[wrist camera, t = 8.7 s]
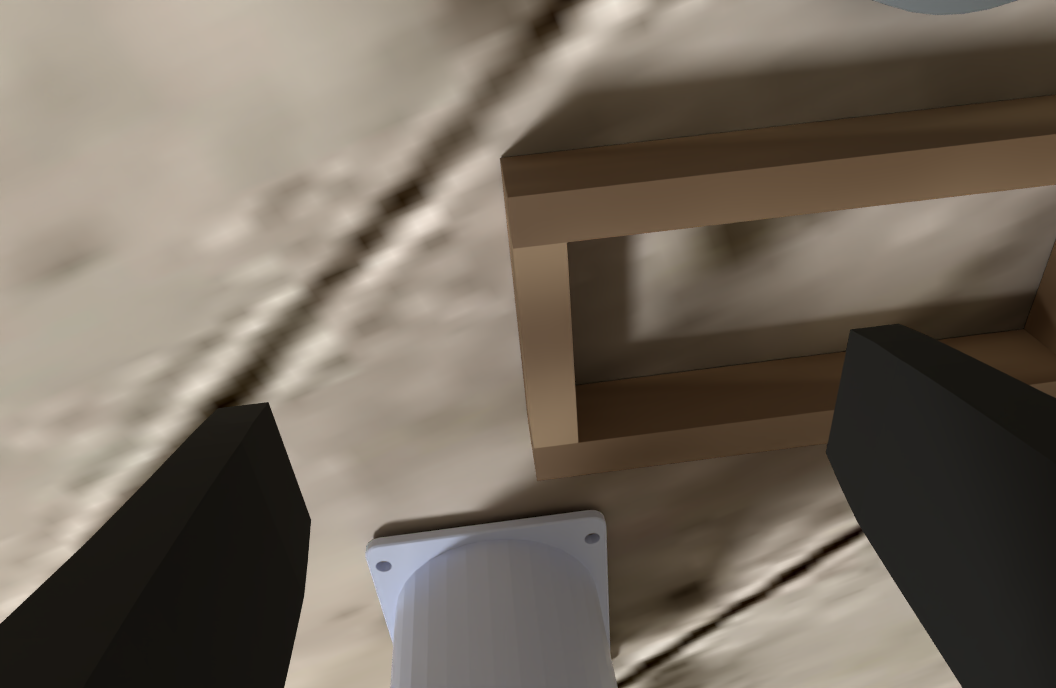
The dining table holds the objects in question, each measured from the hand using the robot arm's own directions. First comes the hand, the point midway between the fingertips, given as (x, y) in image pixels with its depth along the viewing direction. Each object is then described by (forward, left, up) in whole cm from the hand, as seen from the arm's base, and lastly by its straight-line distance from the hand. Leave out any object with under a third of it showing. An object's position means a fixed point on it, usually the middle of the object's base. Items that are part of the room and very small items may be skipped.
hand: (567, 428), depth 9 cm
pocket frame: (-4, -8, -10) cm, 13 cm away
